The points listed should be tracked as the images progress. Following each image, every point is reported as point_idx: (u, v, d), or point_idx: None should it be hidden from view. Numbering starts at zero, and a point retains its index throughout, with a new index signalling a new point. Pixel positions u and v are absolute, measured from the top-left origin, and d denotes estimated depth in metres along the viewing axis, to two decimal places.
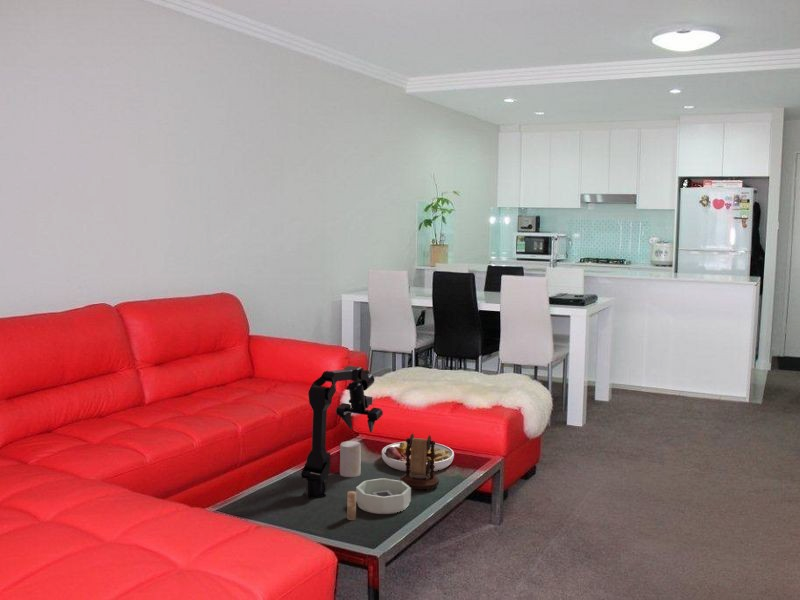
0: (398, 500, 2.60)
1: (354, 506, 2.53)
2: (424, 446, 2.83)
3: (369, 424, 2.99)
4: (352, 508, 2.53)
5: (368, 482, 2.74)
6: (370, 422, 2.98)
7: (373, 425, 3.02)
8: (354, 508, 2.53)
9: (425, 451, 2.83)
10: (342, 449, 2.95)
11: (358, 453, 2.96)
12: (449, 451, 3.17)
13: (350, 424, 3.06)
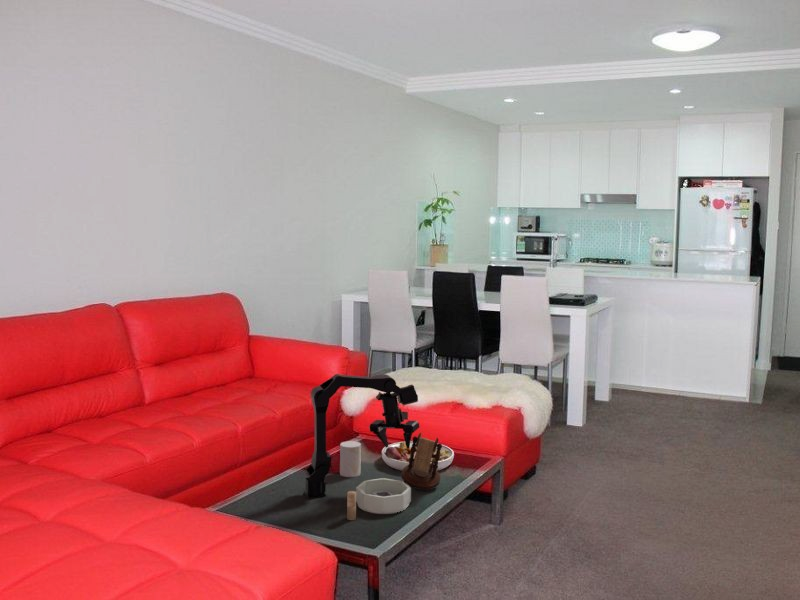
0: (398, 500, 2.60)
1: (354, 506, 2.53)
2: (430, 448, 2.78)
3: (405, 438, 2.78)
4: (352, 508, 2.53)
5: (368, 482, 2.74)
6: (406, 435, 2.77)
7: (410, 440, 2.81)
8: (354, 508, 2.53)
9: (431, 453, 2.78)
10: (342, 449, 2.95)
11: (358, 453, 2.96)
12: (449, 451, 3.17)
13: (385, 442, 2.85)
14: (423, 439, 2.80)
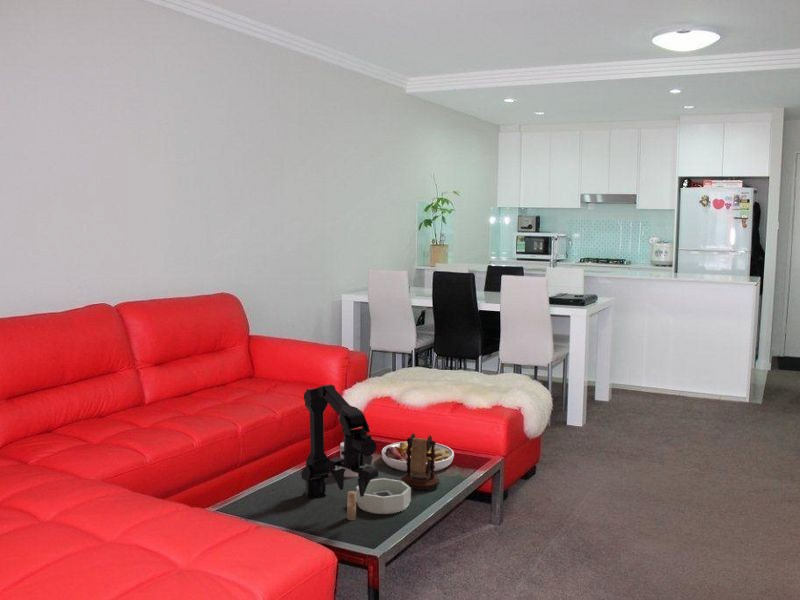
0: (398, 500, 2.60)
1: (354, 506, 2.53)
2: (424, 446, 2.83)
3: (359, 484, 2.48)
4: (352, 508, 2.53)
5: None
6: (360, 482, 2.47)
7: (365, 488, 2.50)
8: (354, 508, 2.53)
9: (425, 451, 2.83)
10: (342, 449, 2.95)
11: None
12: (449, 451, 3.17)
13: (341, 483, 2.56)
14: (416, 438, 2.85)
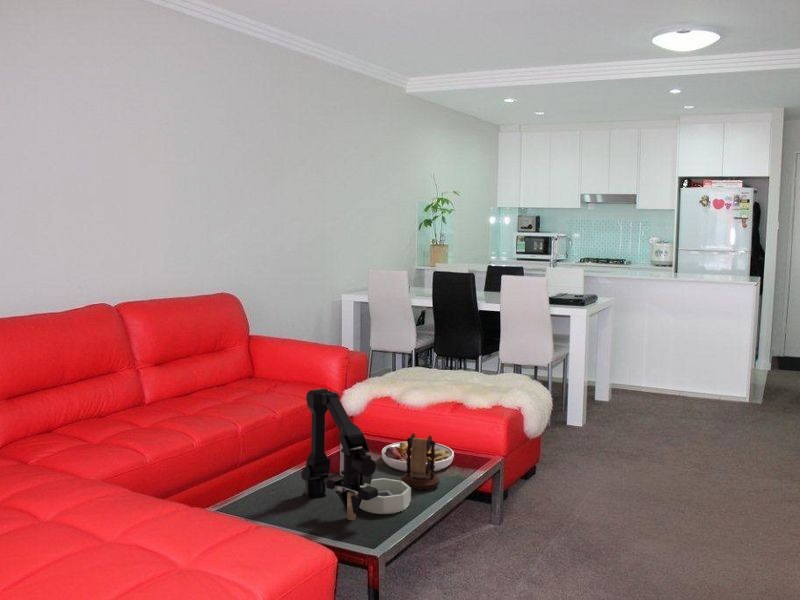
0: (398, 500, 2.60)
1: None
2: (424, 446, 2.83)
3: (353, 502, 2.51)
4: (352, 508, 2.53)
5: None
6: (354, 499, 2.50)
7: (358, 505, 2.53)
8: None
9: (425, 451, 2.83)
10: None
11: None
12: (449, 451, 3.17)
13: None
14: (416, 438, 2.85)
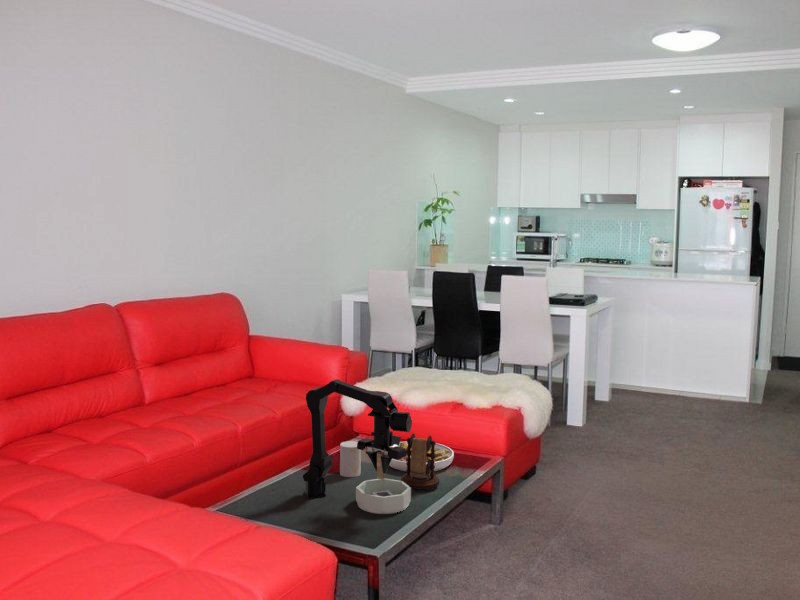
0: (398, 500, 2.60)
1: None
2: (424, 446, 2.83)
3: (382, 462, 2.61)
4: (381, 468, 2.64)
5: (368, 482, 2.74)
6: (383, 459, 2.60)
7: (388, 465, 2.64)
8: None
9: (425, 451, 2.83)
10: (342, 449, 2.95)
11: (358, 453, 2.96)
12: (449, 451, 3.17)
13: None
14: (416, 438, 2.85)
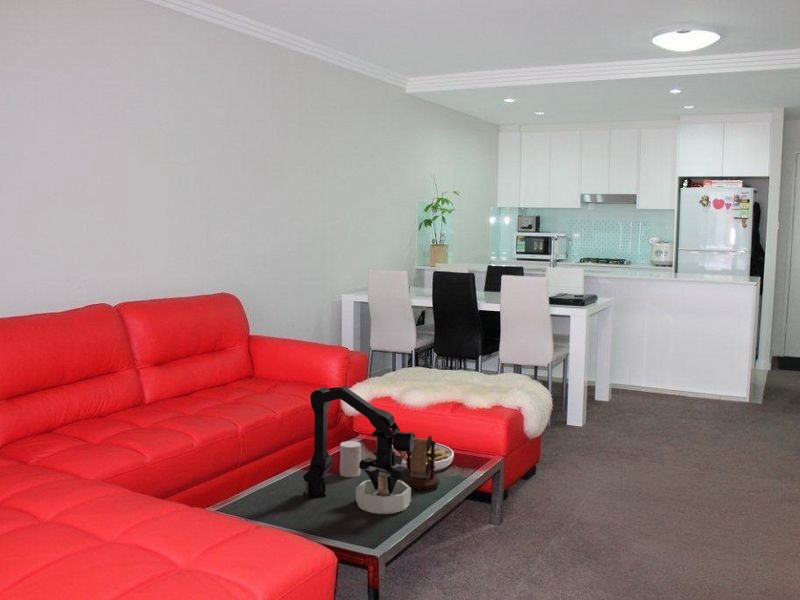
0: (398, 500, 2.60)
1: (385, 489, 2.66)
2: (424, 446, 2.83)
3: (388, 483, 2.63)
4: (383, 491, 2.66)
5: (368, 482, 2.74)
6: (389, 480, 2.62)
7: (393, 486, 2.65)
8: (385, 491, 2.66)
9: (425, 451, 2.83)
10: (342, 449, 2.95)
11: (358, 453, 2.96)
12: (449, 451, 3.17)
13: (376, 483, 2.69)
14: (416, 438, 2.85)
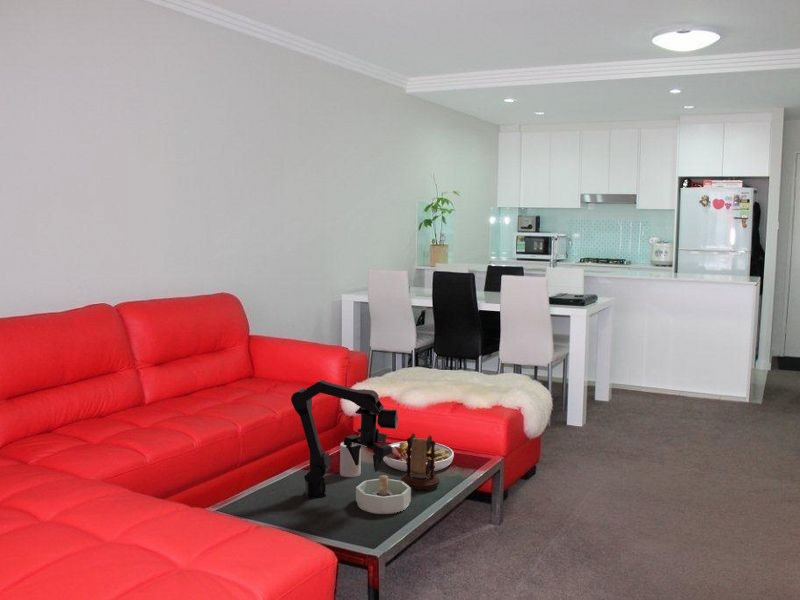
0: (398, 500, 2.60)
1: (386, 489, 2.66)
2: (424, 446, 2.83)
3: (374, 460, 2.65)
4: (384, 491, 2.66)
5: (368, 482, 2.74)
6: (375, 457, 2.64)
7: (379, 464, 2.67)
8: (386, 491, 2.66)
9: (425, 451, 2.83)
10: (342, 449, 2.95)
11: None
12: (449, 451, 3.17)
13: (356, 459, 2.73)
14: (416, 438, 2.85)
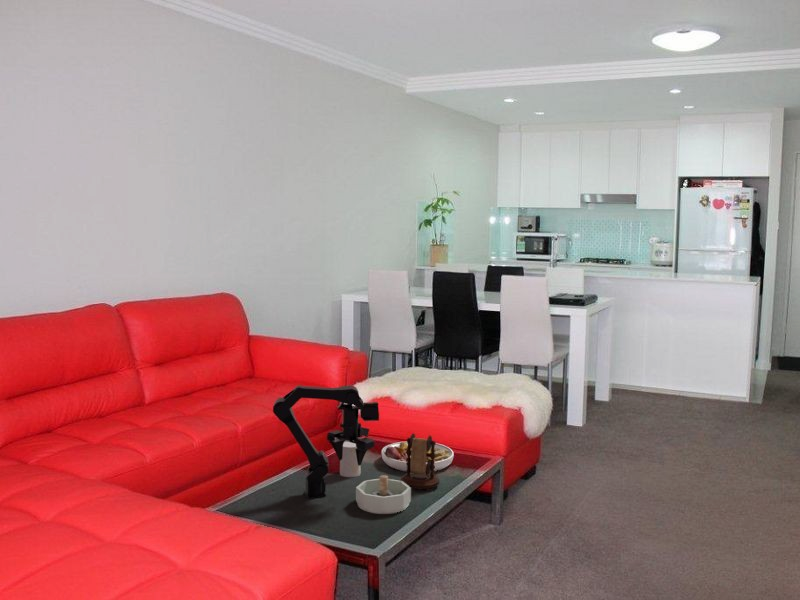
0: (398, 500, 2.60)
1: (386, 489, 2.66)
2: (424, 446, 2.83)
3: (357, 454, 2.70)
4: (384, 491, 2.66)
5: (368, 482, 2.74)
6: (358, 451, 2.69)
7: (362, 457, 2.72)
8: (386, 491, 2.66)
9: (425, 451, 2.83)
10: None
11: None
12: (449, 451, 3.17)
13: (340, 454, 2.77)
14: (416, 438, 2.85)
